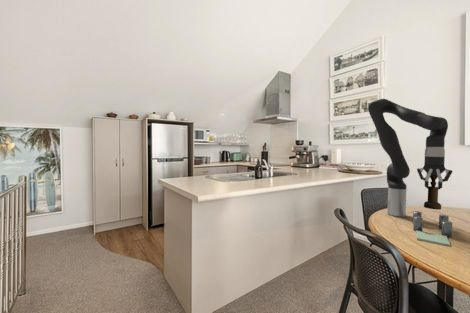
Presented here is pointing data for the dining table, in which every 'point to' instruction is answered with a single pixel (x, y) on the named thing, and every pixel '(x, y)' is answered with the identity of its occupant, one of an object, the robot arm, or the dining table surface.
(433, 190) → the wooden pepper mill
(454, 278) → the dining table surface
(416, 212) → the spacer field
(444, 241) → the green mat
